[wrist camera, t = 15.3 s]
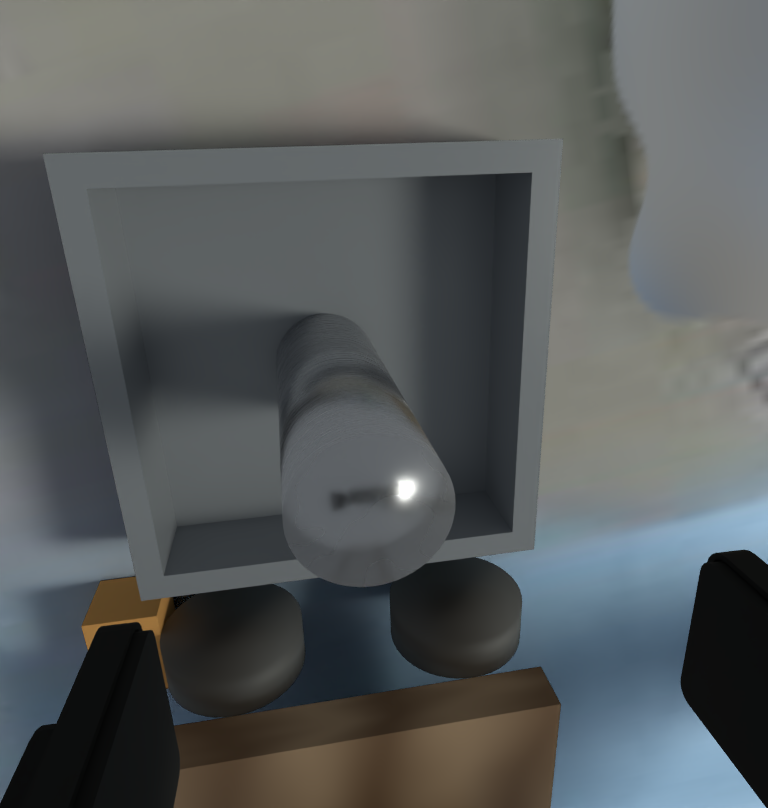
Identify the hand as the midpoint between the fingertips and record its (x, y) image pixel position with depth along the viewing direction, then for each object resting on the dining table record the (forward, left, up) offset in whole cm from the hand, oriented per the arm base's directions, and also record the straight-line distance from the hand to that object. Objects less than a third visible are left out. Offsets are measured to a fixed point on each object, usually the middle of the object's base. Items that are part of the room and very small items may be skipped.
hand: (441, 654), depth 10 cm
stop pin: (+1, 0, -16) cm, 16 cm away
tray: (+1, 0, -17) cm, 17 cm away
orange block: (+10, +12, -17) cm, 23 cm away
